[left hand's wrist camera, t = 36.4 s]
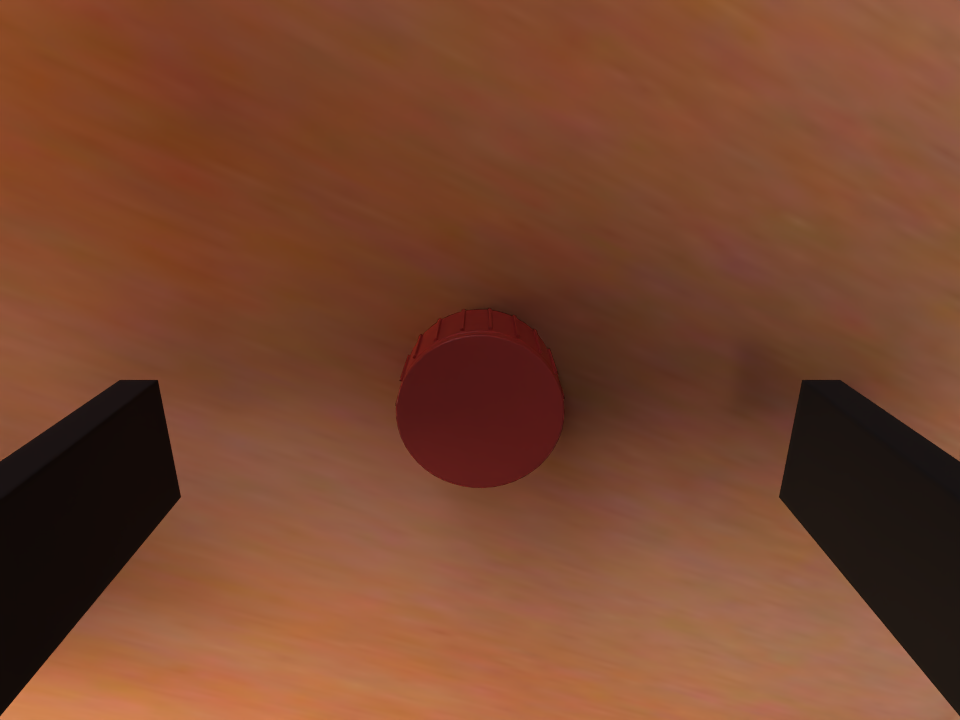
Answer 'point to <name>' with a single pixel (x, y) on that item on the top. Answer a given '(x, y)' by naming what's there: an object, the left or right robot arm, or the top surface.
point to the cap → (480, 399)
